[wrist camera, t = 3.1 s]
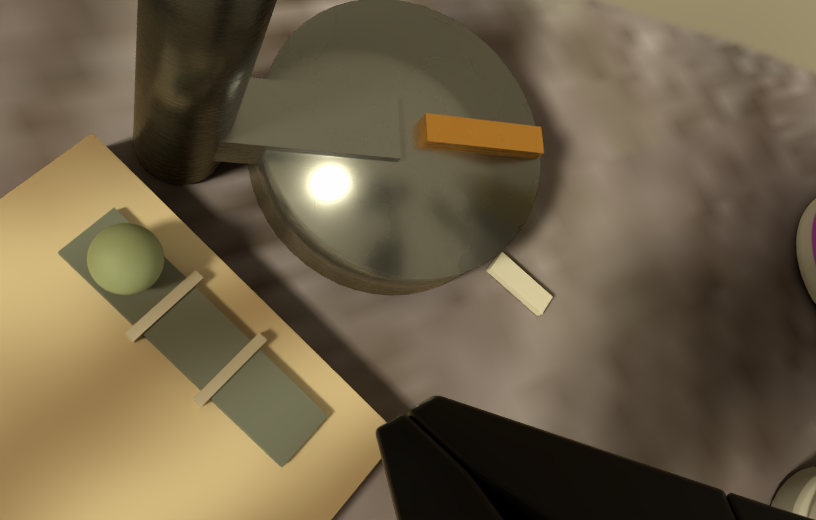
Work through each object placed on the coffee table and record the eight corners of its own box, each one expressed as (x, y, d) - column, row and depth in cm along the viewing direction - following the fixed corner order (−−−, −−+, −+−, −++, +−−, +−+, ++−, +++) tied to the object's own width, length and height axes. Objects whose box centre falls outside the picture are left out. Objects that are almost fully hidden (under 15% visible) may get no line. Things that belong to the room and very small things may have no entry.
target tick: (548, 298, 25) (552, 296, 25) (537, 315, 24) (541, 314, 24) (497, 253, 25) (502, 251, 24) (486, 270, 24) (490, 268, 24)
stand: (385, 436, 21) (427, 434, 19) (158, 713, 18) (165, 765, 15) (94, 149, 20) (88, 98, 17) (-218, 378, 17) (-291, 362, 14)
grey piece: (491, 59, 26) (745, -208, 16) (514, 297, 24) (825, 176, 13) (138, 4, 22) (153, -424, 11) (127, 290, 20) (133, 100, 9)
